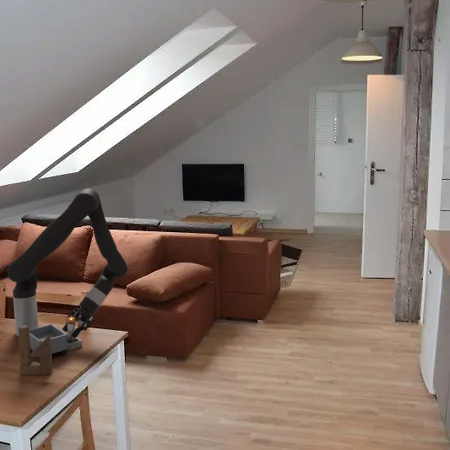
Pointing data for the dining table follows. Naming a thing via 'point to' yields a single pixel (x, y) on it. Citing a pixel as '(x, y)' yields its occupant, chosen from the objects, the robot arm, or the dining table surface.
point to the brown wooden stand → (34, 354)
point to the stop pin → (71, 328)
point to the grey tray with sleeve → (52, 339)
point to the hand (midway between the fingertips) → (68, 333)
